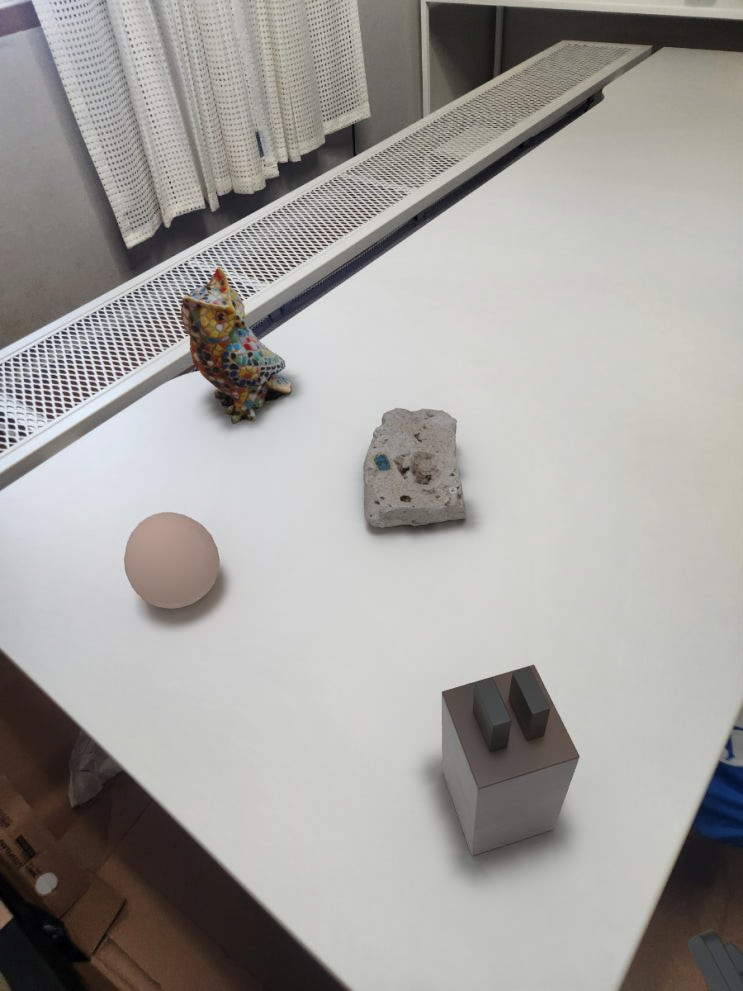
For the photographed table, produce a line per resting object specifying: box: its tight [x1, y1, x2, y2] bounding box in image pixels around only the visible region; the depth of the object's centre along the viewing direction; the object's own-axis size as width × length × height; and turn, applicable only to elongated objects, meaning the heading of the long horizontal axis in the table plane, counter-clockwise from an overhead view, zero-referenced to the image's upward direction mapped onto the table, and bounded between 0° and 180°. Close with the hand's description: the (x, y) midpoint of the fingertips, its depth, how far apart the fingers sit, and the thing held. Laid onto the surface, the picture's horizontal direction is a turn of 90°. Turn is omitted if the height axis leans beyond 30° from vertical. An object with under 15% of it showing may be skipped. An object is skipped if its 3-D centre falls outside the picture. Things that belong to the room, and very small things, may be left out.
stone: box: [362, 407, 467, 529], centre depth 61 cm, size 13×6×10 cm
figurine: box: [180, 267, 292, 424], centre depth 68 cm, size 9×9×15 cm
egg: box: [123, 511, 221, 609], centre depth 53 cm, size 7×7×8 cm
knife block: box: [441, 664, 581, 857], centre depth 38 cm, size 5×5×14 cm
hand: (607, 967), depth 28 cm, fingers open, 8 cm apart
